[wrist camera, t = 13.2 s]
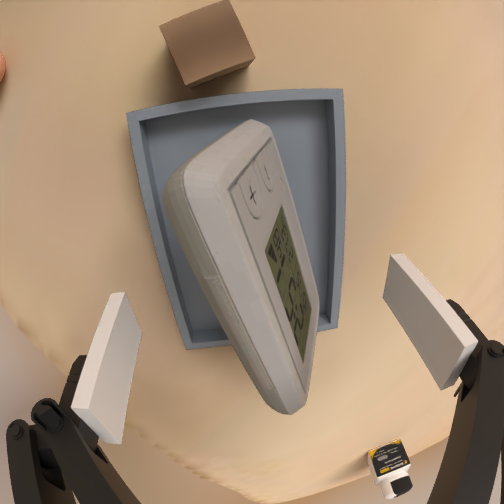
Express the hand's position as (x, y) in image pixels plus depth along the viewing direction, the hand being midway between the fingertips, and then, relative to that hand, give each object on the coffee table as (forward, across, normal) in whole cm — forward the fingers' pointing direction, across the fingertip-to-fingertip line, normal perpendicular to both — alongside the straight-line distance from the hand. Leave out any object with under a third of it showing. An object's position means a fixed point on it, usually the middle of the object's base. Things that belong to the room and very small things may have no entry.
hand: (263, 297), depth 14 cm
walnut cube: (+10, -1, +12) cm, 16 cm away
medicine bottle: (+8, +23, -54) cm, 59 cm away
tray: (+9, 0, -1) cm, 9 cm away
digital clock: (+9, +1, -1) cm, 9 cm away
